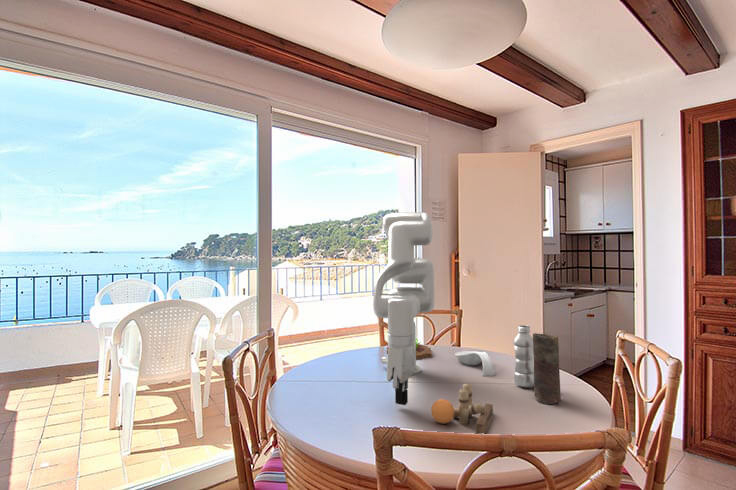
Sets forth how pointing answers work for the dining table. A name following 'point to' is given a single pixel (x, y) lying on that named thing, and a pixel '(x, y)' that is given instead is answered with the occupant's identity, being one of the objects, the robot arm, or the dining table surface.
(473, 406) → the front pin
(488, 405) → the brown wooden bar
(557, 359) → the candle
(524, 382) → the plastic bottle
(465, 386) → the pin
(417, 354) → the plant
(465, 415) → the pin
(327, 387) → the dining table surface
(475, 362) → the spoon rest
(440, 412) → the ball
